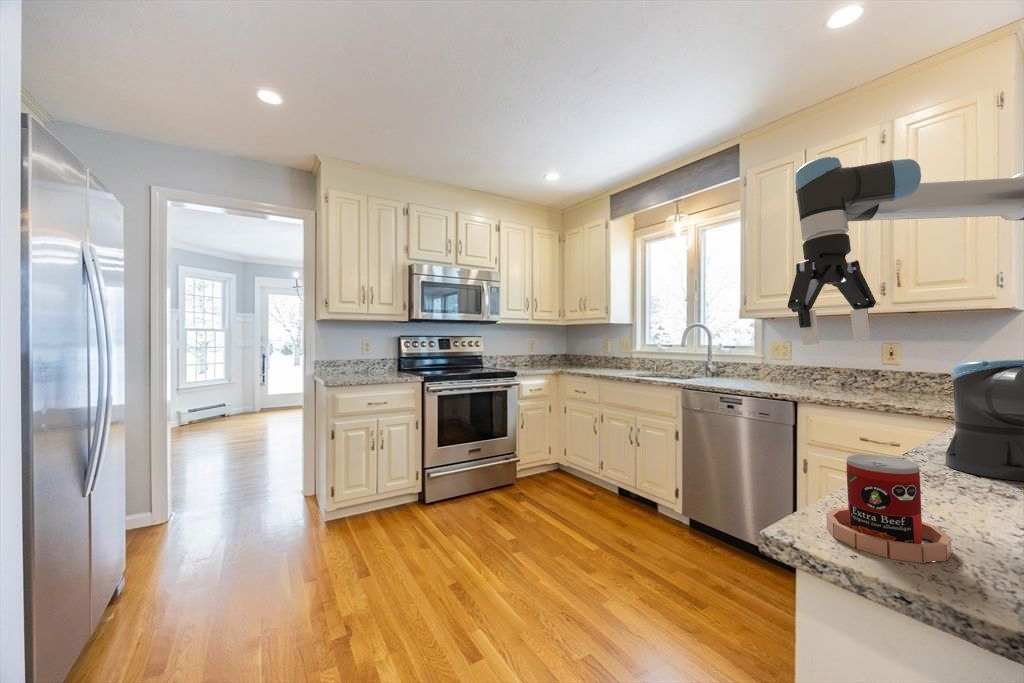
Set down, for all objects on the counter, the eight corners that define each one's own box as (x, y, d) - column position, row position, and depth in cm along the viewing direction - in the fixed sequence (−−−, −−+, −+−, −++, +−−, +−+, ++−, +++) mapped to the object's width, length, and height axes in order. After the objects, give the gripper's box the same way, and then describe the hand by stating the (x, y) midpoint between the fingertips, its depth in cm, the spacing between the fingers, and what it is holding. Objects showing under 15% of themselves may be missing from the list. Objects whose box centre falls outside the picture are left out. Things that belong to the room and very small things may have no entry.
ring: (844, 514, 67) (843, 501, 67) (957, 542, 56) (957, 527, 56) (815, 536, 59) (814, 522, 59) (940, 573, 49) (939, 556, 49)
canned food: (841, 537, 59) (838, 460, 59) (858, 522, 63) (855, 451, 64) (915, 559, 52) (912, 472, 53) (928, 540, 57) (924, 461, 57)
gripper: (850, 245, 89) (862, 341, 88) (759, 242, 83) (770, 347, 81) (890, 233, 82) (904, 338, 81) (794, 229, 75) (807, 344, 74)
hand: (837, 343), depth 81 cm, fingers open, 13 cm apart
